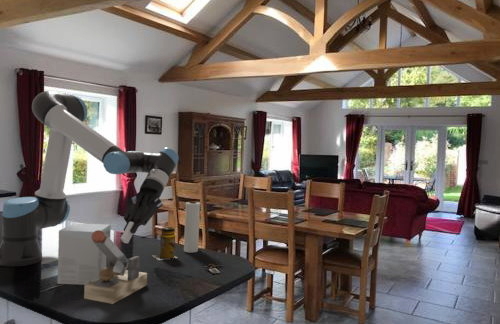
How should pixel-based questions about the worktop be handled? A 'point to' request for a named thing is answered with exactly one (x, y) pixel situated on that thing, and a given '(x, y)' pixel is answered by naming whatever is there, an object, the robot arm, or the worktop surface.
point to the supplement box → (80, 254)
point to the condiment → (167, 244)
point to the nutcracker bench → (116, 283)
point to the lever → (111, 252)
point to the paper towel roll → (191, 227)
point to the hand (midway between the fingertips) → (124, 240)
